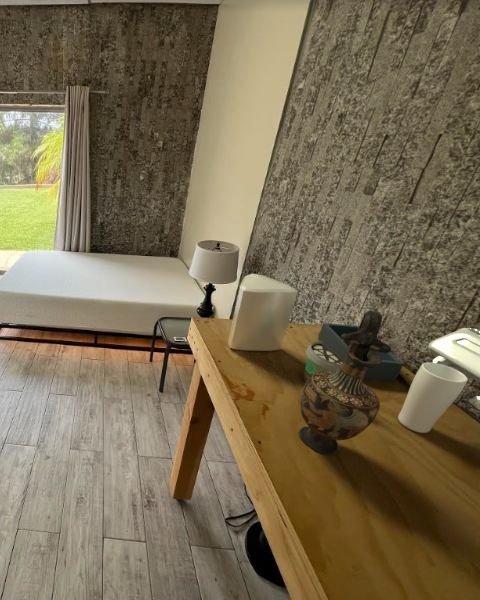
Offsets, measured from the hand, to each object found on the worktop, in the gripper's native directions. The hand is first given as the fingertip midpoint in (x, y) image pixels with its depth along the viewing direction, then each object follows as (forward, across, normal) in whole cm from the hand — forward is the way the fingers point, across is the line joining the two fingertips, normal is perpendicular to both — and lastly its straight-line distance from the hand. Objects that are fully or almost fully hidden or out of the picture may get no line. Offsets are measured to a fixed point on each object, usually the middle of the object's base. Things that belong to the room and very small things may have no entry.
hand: (448, 389), depth 66 cm
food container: (+19, -14, -4) cm, 24 cm away
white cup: (+10, -1, +6) cm, 11 cm away
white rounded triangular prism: (+25, -36, -10) cm, 45 cm away
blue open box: (+6, -26, +9) cm, 28 cm away
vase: (+26, +4, -10) cm, 28 cm away
